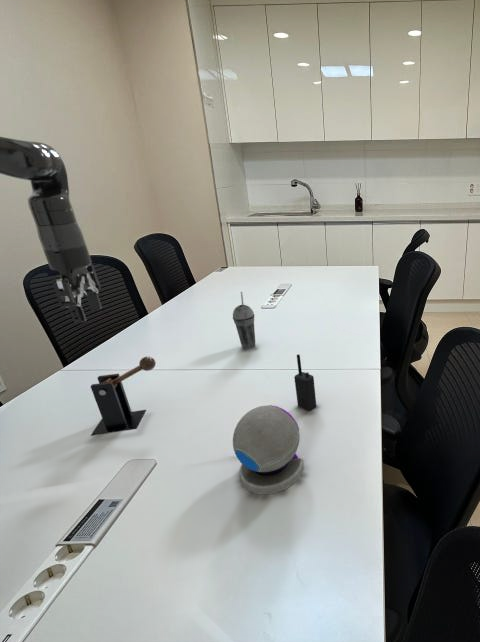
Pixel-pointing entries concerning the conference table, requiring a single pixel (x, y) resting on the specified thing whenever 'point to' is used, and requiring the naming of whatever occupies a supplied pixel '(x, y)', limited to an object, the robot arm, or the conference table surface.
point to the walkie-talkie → (305, 389)
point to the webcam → (267, 449)
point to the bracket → (114, 407)
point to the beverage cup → (245, 325)
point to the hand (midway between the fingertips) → (89, 315)
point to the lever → (135, 370)
